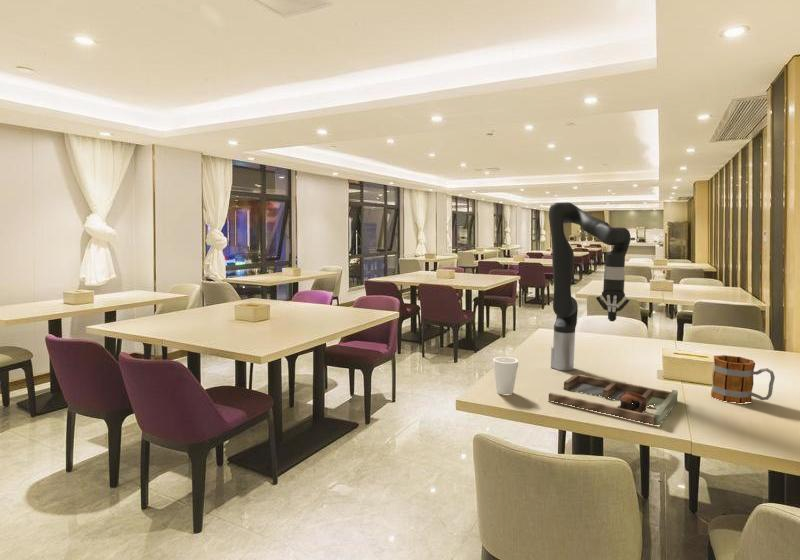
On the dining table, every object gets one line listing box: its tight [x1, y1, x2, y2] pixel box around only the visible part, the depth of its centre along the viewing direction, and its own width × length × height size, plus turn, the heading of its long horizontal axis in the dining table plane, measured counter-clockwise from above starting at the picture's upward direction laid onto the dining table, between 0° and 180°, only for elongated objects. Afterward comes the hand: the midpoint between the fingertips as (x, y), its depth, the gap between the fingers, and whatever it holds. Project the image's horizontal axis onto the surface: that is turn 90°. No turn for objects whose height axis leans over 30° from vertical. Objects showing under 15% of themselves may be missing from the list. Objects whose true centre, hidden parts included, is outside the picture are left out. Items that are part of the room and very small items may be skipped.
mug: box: [710, 354, 776, 403], centre depth 182 cm, size 20×14×15 cm
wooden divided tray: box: [548, 374, 678, 426], centre depth 180 cm, size 38×31×4 cm
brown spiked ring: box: [616, 391, 647, 413], centre depth 168 cm, size 12×10×8 cm
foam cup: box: [492, 356, 519, 395], centre depth 189 cm, size 10×9×13 cm
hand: (611, 320), depth 195 cm, fingers closed
